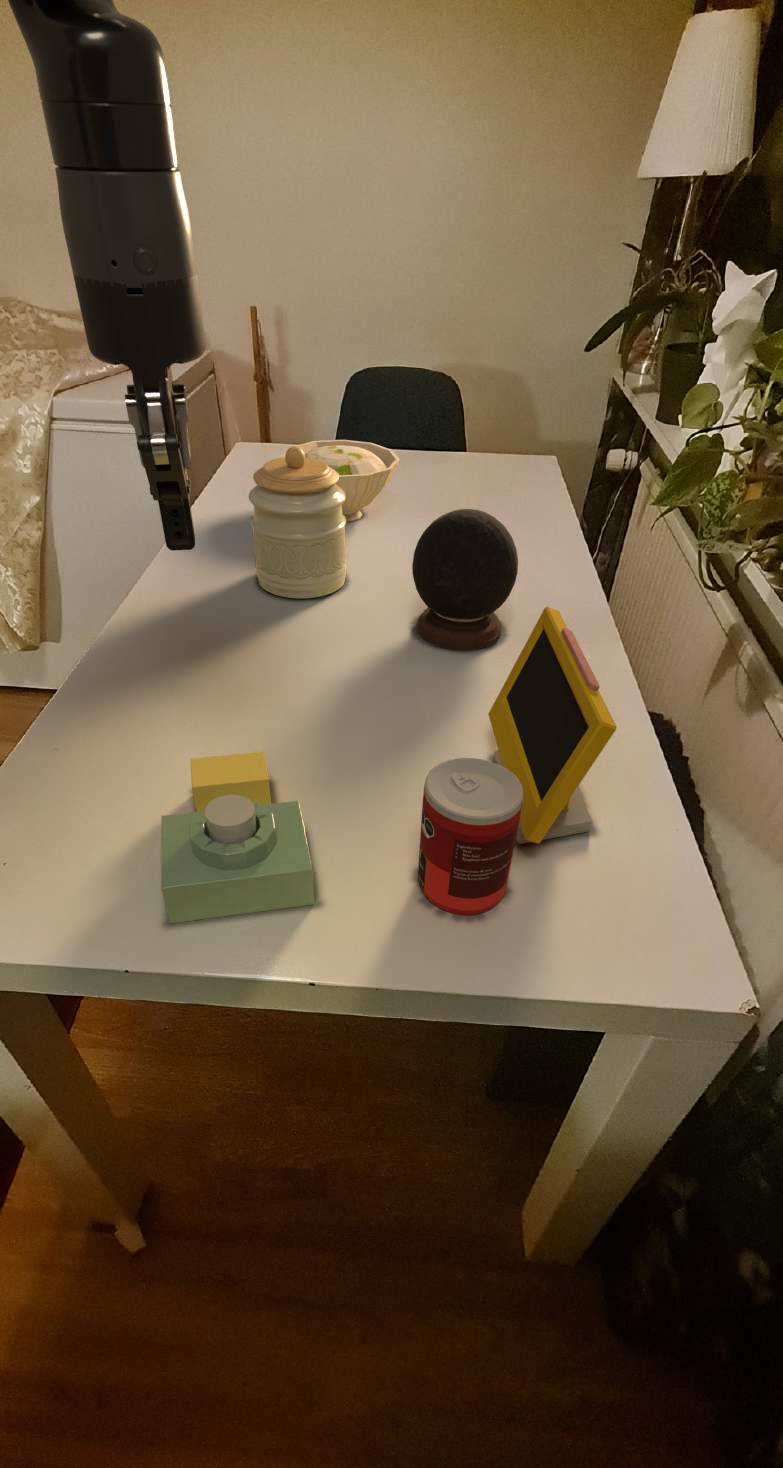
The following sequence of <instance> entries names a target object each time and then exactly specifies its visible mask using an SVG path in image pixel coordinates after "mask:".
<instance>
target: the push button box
mask: <svg viewBox="0 0 783 1468" xmlns="http://www.w3.org/2000/svg"><path fill="white" fill-rule="evenodd" d="M251 802H252V803H253V805H254V808H255V816H256V824H257V829H256V832H255V834H254V835H253V836H252V837H251V838H250V839H248V840H246V841H244V842H242V843H236V844H228V845H226V844H222V843H218V842H215V841H214V840H212V839H211V837H210V836H209V834H208V829H207V824H206V818H205V808H206V807H205V808H203V809H201V810H199V812H196V811H192V812H184V813H175V814H174V813H173V814H165V815H161V824H160V825H161V826H160V827H161V828H160V829H161V830H160V831H161V832H160V833H161V834H160V835H161V837H160V839H161V845H160V846H161V853H160V854H161V862H160V866H161V867H160V869H161V870H160V875H161V876H160V877H161V878H160V880H161V881H160V883H161V884H160V888H161V892H162V896H163V901H164V904H165V907H166V908H165V909H166V913H167V916H168V919H169V923H170V924H177V923H183V922H190V921H199V920H206V919H214V918H215V919H216V918H221V917H230V916H237V915H243V914H251V913H252V914H253V913H261V912H266V911H267V912H268V911H274V910H282V909H290V908H298V907H304V906H310V905H315V889H314V875H313V874H314V873H313V871H314V870H313V864H312V860H311V855H310V849H309V844H308V840H307V835H306V830H305V824H304V819H303V814H302V810H301V805H300V801H299V800H292V801H284V802H275V803H271V804H264V805H261V804H260V803H257V802H253V801H251Z"/></svg>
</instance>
